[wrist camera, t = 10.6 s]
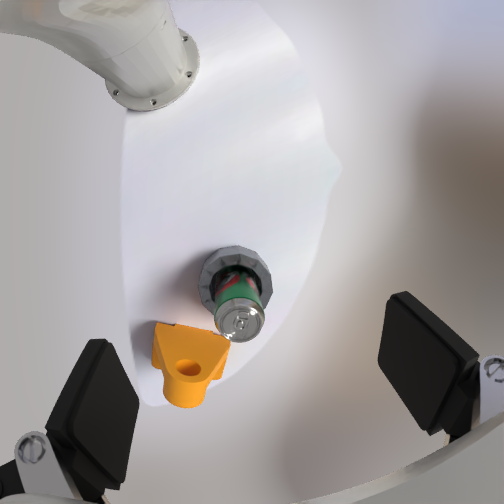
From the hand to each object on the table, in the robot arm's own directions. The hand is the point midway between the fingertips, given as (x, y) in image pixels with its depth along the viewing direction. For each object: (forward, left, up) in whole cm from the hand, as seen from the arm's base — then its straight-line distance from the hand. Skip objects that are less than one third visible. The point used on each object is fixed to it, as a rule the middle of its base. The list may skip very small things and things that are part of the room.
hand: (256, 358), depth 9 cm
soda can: (+9, -1, -29) cm, 30 cm away
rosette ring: (+9, -1, -29) cm, 30 cm away
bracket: (+19, -9, -29) cm, 36 cm away
